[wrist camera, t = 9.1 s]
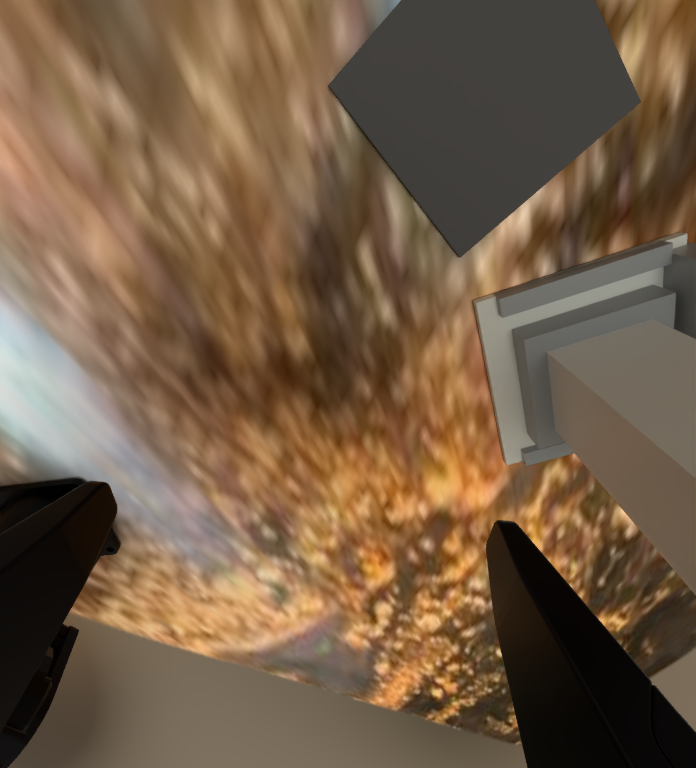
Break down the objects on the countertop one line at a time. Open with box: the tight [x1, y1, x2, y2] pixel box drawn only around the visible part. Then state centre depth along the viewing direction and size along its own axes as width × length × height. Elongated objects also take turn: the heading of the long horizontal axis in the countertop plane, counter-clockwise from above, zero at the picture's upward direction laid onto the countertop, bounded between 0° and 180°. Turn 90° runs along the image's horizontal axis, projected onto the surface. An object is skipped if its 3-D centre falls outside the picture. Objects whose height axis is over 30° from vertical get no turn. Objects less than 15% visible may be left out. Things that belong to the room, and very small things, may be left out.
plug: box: [512, 285, 696, 595], centre depth 15 cm, size 7×7×14 cm
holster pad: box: [328, 0, 641, 257], centre depth 16 cm, size 9×9×1 cm
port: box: [473, 232, 696, 466], centre depth 21 cm, size 10×11×3 cm
